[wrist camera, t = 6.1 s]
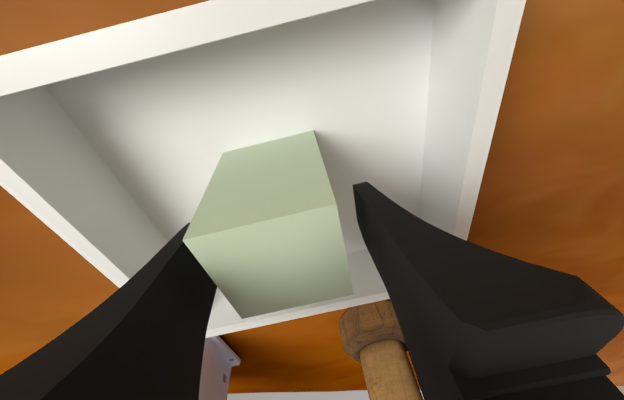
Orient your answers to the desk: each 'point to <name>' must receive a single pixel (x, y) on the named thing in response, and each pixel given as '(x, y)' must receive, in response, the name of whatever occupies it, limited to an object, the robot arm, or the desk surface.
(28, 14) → the desk surface
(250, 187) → the green block
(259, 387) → the desk surface
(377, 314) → the wooden pepper mill
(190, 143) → the white bin
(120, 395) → the robot arm
